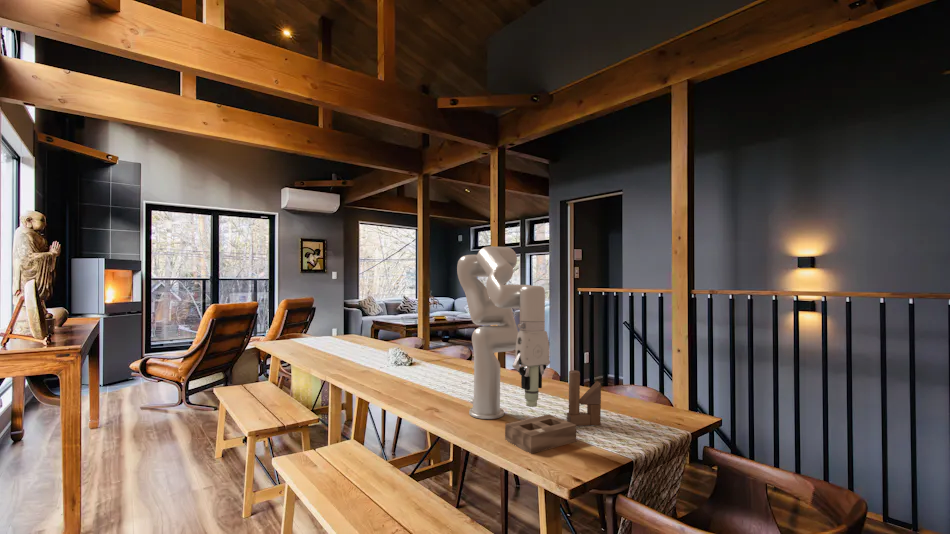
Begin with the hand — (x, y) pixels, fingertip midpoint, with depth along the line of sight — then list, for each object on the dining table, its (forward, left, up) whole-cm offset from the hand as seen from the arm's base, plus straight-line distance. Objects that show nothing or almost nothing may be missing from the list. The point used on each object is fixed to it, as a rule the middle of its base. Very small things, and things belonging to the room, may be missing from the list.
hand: (531, 387), depth 134 cm
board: (0, +4, -17) cm, 17 cm away
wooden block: (-4, +27, -17) cm, 32 cm away
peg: (0, 0, -5) cm, 5 cm away
